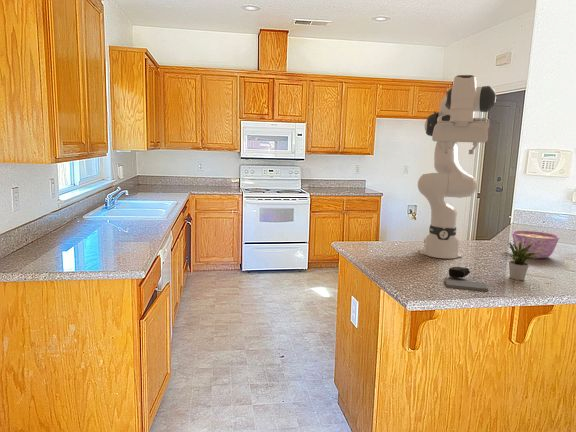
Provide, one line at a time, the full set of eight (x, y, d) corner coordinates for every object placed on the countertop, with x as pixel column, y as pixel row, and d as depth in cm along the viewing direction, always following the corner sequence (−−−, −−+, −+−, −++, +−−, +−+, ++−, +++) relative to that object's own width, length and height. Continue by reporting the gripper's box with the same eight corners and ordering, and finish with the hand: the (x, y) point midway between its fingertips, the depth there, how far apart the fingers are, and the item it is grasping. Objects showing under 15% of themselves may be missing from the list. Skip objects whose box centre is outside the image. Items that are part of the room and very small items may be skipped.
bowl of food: (509, 258, 204) (511, 235, 203) (509, 251, 222) (512, 229, 220) (558, 265, 195) (561, 240, 193) (554, 256, 213) (557, 233, 211)
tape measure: (463, 280, 163) (463, 270, 163) (446, 278, 168) (445, 268, 168) (470, 276, 168) (469, 267, 168) (453, 275, 173) (452, 265, 173)
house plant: (495, 280, 167) (500, 239, 165) (492, 271, 180) (496, 233, 178) (537, 285, 163) (542, 243, 160) (530, 275, 175) (535, 236, 173)
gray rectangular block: (444, 281, 164) (445, 278, 164) (484, 285, 160) (484, 282, 160) (446, 287, 157) (447, 284, 156) (488, 291, 153) (488, 288, 153)
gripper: (488, 118, 166) (485, 154, 168) (433, 118, 171) (430, 153, 173) (492, 117, 160) (488, 154, 162) (434, 116, 165) (431, 153, 167)
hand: (457, 153), depth 167 cm, fingers open, 8 cm apart
